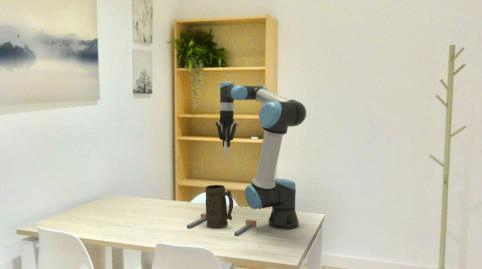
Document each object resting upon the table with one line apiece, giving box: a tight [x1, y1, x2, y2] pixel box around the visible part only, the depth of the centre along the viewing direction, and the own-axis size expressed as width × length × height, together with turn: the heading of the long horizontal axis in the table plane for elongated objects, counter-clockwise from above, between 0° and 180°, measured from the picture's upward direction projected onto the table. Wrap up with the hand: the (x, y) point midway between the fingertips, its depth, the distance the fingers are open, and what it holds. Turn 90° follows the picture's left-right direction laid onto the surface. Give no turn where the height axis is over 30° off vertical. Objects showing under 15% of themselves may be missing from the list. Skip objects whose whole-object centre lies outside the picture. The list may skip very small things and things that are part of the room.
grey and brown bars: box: [186, 212, 257, 237], centre depth 221 cm, size 31×18×3 cm, turn 65°
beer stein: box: [204, 184, 234, 229], centre depth 222 cm, size 15×11×20 cm
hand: (226, 152), depth 246 cm, fingers closed
